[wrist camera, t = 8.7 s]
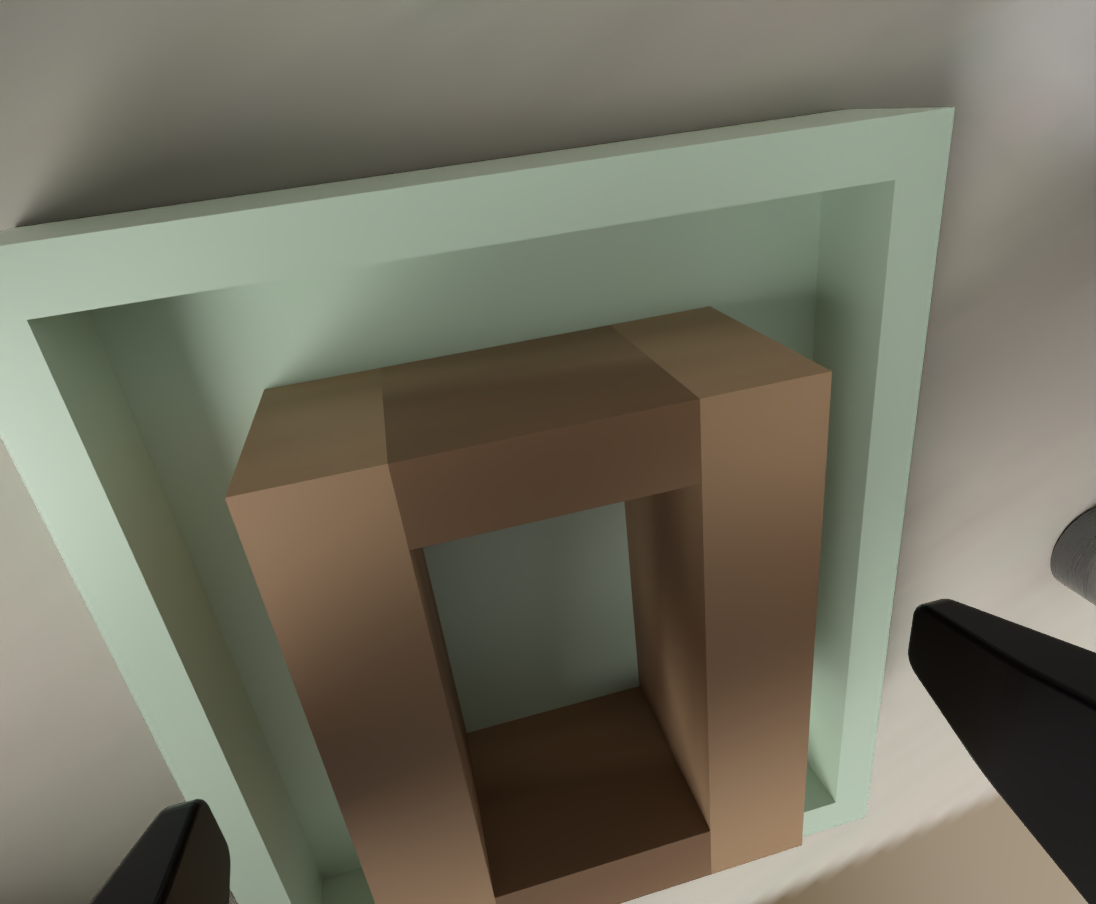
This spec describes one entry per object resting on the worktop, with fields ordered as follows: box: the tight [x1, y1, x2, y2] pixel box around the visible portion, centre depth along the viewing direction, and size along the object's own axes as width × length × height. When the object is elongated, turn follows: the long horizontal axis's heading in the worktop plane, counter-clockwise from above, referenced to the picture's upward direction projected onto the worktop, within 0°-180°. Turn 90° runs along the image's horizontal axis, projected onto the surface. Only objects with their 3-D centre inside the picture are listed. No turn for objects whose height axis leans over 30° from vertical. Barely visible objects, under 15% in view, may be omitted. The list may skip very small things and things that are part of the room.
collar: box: [225, 306, 832, 904], centre depth 10 cm, size 8×6×3 cm
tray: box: [0, 107, 955, 904], centre depth 11 cm, size 12×11×2 cm
